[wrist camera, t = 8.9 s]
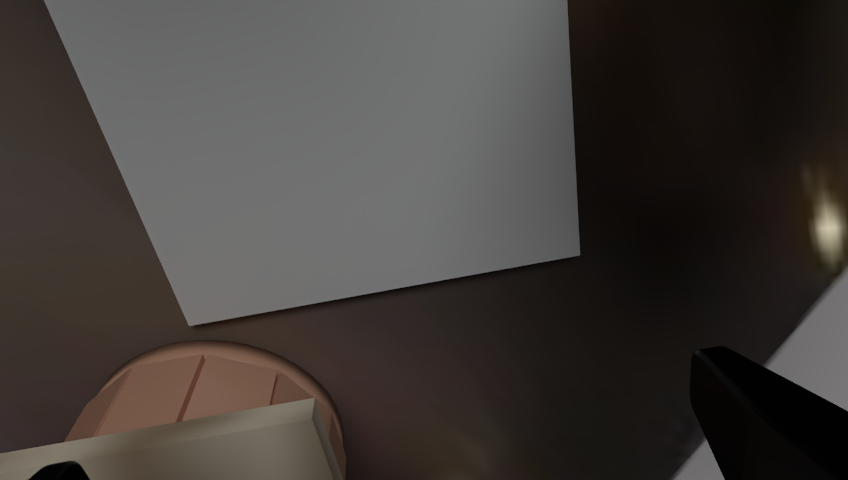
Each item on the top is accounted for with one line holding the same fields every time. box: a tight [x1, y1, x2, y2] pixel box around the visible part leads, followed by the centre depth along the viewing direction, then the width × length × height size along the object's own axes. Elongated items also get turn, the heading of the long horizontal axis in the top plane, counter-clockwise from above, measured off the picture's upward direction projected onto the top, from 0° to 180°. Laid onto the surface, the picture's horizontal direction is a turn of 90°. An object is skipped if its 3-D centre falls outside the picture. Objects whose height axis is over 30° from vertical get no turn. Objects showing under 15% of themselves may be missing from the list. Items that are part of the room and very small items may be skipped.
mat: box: [44, 0, 580, 326], centre depth 18 cm, size 14×14×1 cm
